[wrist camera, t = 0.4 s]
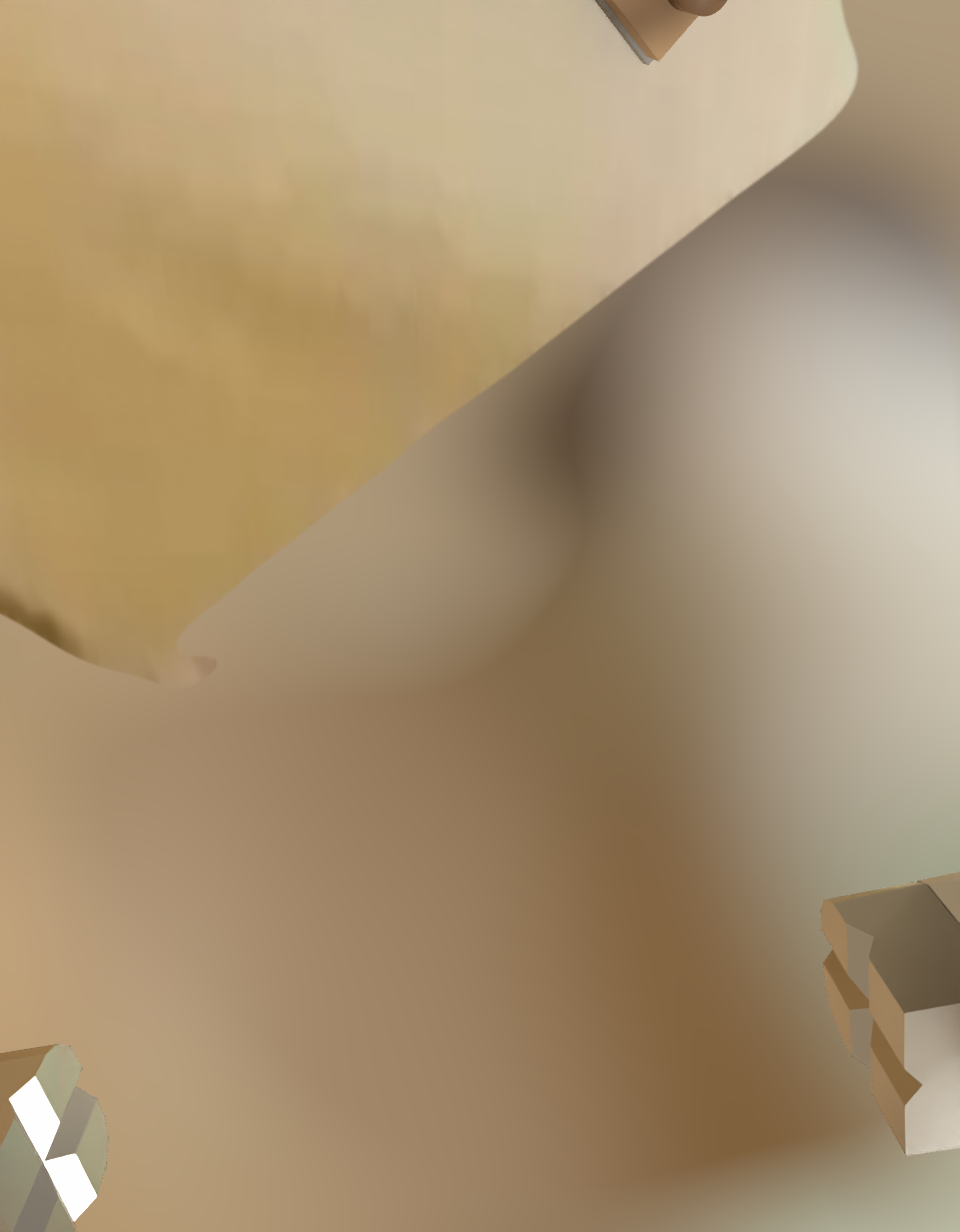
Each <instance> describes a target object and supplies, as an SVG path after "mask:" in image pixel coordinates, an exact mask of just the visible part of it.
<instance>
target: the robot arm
mask: <svg viewBox="0 0 960 1232" xmlns="http://www.w3.org/2000/svg"><path fill="white" fill-rule="evenodd" d="M821 930H822V932H823V934H824V935H825V937H826V939H827V940H828V942H829V944H830V945H831V947H832V951H831V952H830V954H829V955H828V956H827V958H826V959H825V961H824V962H823V968H824V978H825V989H826V992H827V997H828V1000H829V1004H830V1008H831V1012H832V1015H833V1018H834V1020H835V1023H836V1025H837V1028H838V1030H839V1033H840V1035H841V1037H842V1039H843V1041H844V1043H845V1045H846V1047H847V1049H848V1051H849V1052H850V1054H851V1056H852V1057H853V1058H855V1059H856V1060H858V1061H859V1062H861V1063H863V1064H864V1065H866V1066H867V1067H869V1068H871V1076H872V1095H873V1097H874V1099H875V1101H876V1103H877V1104H878V1106H879V1108H880V1110H881V1112H882V1113H883V1115H884V1117H885V1119H886V1121H887V1122H888V1124H889V1126H890V1128H891V1130H892V1132H893V1133H894V1135H895V1137H896V1139H897V1141H898V1142H899V1144H900V1146H901V1148H902V1150H903V1151H904V1154H905V1155H906V1156H908V1155H914V1154H921V1153H928V1152H934V1151H941V1150H948V1149H954V1148H960V872H957V873H953V874H948V875H943V876H938V877H933V878H928V879H923V880H918V881H917V883H916V882H911V883H906V884H901V885H896V886H891V887H886V888H881V889H875V890H871V891H865V892H860V893H855V894H850V895H845V896H840V897H835V898H830V899H825V900H823V904H822V908H821ZM81 1071H82V1066H81V1065H80V1063H79V1061H78V1059H77V1057H76V1055H75V1054H74V1052H73V1050H72V1048H71V1046H67V1045H60V1044H55V1045H48V1046H43V1047H36V1048H30V1049H24V1050H18V1051H11V1052H6V1053H0V1232H78V1230H77V1228H76V1225H75V1222H74V1221H75V1220H76V1218H77V1217H78V1216H79V1215H80V1214H81V1213H82V1212H83V1211H84V1210H85V1209H86V1208H87V1207H88V1205H89V1204H90V1203H91V1202H92V1201H93V1200H94V1199H95V1198H96V1197H97V1194H98V1191H99V1188H100V1185H101V1182H102V1179H103V1176H104V1173H105V1170H106V1164H107V1153H108V1141H109V1136H108V1130H107V1125H106V1119H105V1115H104V1112H103V1110H102V1108H101V1106H100V1104H99V1102H98V1099H97V1098H95V1097H94V1096H92V1095H90V1094H88V1093H87V1092H85V1091H84V1090H82V1089H80V1088H78V1087H77V1086H76V1083H77V1081H78V1078H79V1076H80V1073H81Z"/></svg>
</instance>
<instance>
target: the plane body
mask: <svg viewBox="0 0 960 1232" xmlns="http://www.w3.org/2000/svg"><path fill="white" fill-rule="evenodd" d="M595 1H596V2H597V3H598V5H599V6H600V7H601V9H602V10H603V11H604V13H605V14H606V15H607V16H608V18H609V19H610V20H611V22H612V23H613V24H614V26H615V27H616V28H617V30H618V31H619V32H620V34H621V35H622V36H623V37H624V39H625V40H626V41H627V43H628V44H629V45H630V47H631V48H632V49H633V51H634V52H635V53H636V55H637V56H638V57H639V58H640V60H641V61H642V62H643V63H644V64H646V65H649V64H650V63H651V62H652V60H653V59H654V60H657V61H660V60H661V58H662V57H663V56H664V55H665V54H666V53H667V51H668V50H669V49H670V48H671V47H672V46H673V44H674V43H675V42H676V41H677V40H678V39H679V37H680V36H681V35H682V34H683V33H684V32H685V31H686V29H687V28H688V27H689V26H690V25H691V24H692V22H693V21H694V20H695V19H696V18H697V17H698V16H709V15H712V14H714V13H716V12H717V11H718V10H720V9H721V8H722V7H723V6H724V4H725V3H726V1H727V0H595Z"/></svg>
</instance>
